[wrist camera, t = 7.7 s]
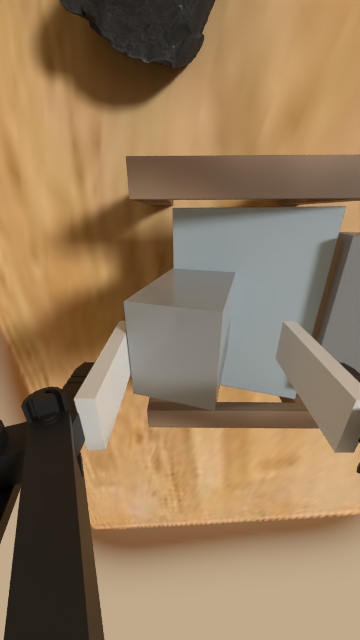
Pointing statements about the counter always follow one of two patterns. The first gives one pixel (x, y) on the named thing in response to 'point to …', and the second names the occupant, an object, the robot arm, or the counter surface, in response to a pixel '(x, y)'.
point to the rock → (148, 27)
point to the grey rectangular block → (180, 335)
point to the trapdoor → (277, 283)
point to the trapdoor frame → (241, 183)
